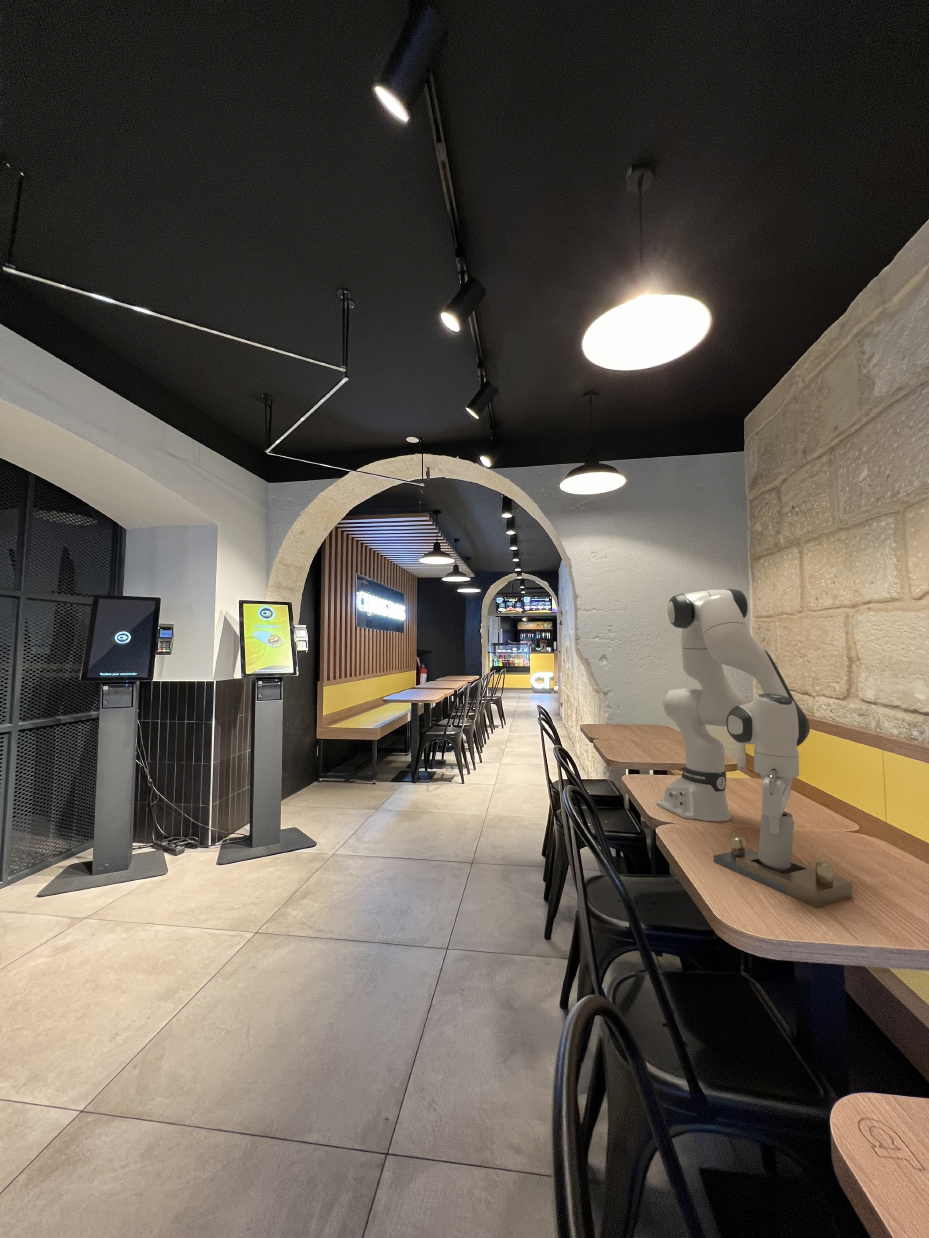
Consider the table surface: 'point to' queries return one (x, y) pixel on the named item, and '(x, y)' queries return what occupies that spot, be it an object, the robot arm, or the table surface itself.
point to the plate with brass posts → (788, 876)
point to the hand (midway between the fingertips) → (776, 827)
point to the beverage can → (776, 843)
